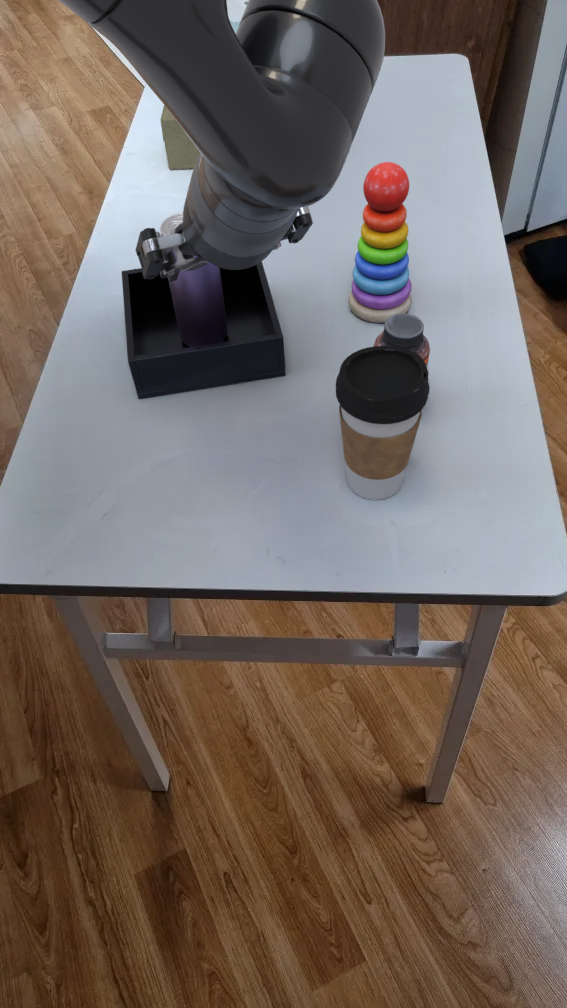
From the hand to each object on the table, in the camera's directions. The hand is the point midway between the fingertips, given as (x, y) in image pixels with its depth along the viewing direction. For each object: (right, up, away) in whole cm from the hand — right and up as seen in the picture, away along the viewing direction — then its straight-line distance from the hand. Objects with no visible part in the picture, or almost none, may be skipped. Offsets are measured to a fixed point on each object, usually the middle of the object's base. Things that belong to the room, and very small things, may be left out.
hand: (213, 259), depth 67 cm
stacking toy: (+19, +3, +27) cm, 33 cm away
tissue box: (-3, +36, +54) cm, 65 cm away
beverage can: (-3, -2, +23) cm, 24 cm away
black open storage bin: (-3, -2, +24) cm, 24 cm away
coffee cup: (+16, -20, +9) cm, 27 cm away
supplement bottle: (+19, -12, +15) cm, 27 cm away
